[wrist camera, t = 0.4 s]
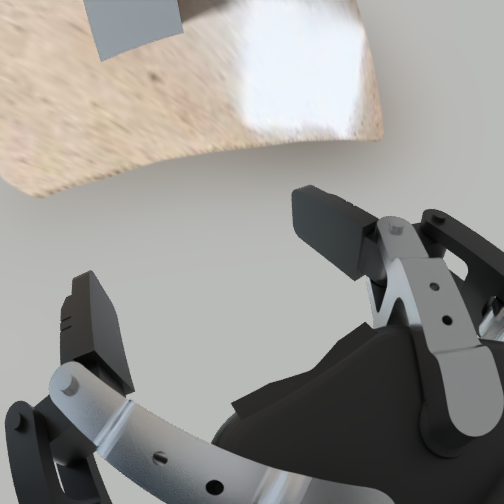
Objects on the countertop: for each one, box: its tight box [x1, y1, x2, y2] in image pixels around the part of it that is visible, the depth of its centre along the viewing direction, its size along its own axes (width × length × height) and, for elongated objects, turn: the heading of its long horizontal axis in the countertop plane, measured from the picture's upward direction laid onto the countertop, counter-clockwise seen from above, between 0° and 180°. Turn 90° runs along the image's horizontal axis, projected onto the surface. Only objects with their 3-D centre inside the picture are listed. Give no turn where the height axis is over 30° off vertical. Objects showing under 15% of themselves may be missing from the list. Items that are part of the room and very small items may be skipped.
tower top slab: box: [83, 0, 183, 62], centre depth 16 cm, size 8×8×4 cm
